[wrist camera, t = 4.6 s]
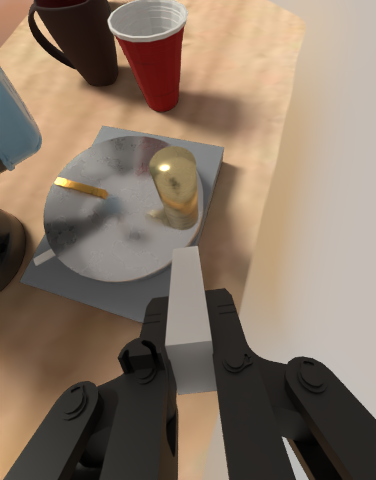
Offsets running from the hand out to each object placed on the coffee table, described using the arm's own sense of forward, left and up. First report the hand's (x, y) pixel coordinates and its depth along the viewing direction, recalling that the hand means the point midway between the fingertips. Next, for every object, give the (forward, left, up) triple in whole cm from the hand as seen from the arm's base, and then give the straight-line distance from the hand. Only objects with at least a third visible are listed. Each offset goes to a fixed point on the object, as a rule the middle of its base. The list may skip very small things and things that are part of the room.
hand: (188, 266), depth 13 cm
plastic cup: (-28, +22, -15) cm, 38 cm away
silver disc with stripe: (-14, +2, -12) cm, 18 cm away
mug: (-44, +18, -15) cm, 49 cm away
